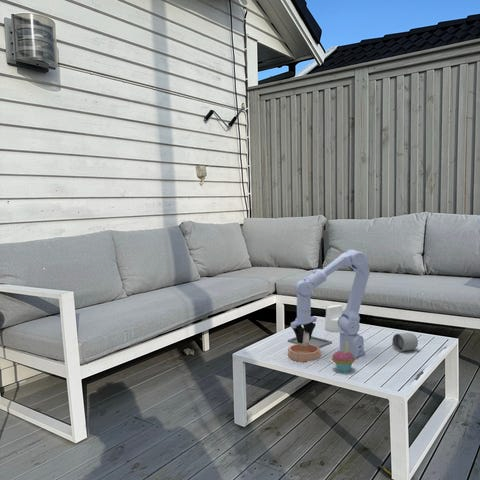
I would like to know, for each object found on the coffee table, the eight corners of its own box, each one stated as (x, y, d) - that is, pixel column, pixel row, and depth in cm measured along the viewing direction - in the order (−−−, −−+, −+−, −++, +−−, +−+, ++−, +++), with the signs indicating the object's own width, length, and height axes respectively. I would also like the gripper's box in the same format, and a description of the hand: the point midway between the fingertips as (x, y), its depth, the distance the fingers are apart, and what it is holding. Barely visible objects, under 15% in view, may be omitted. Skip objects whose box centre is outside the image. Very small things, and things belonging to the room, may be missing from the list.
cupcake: (358, 369, 173) (358, 338, 172) (348, 375, 167) (347, 344, 166) (338, 364, 179) (338, 334, 178) (327, 370, 172) (327, 339, 171)
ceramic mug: (419, 351, 191) (419, 333, 191) (404, 354, 188) (404, 336, 188) (401, 344, 201) (401, 327, 201) (387, 347, 198) (387, 330, 198)
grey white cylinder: (334, 333, 220) (334, 309, 219) (321, 329, 227) (321, 305, 226) (347, 330, 225) (347, 306, 224) (334, 326, 232) (334, 303, 231)
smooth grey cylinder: (311, 344, 187) (311, 333, 187) (304, 347, 184) (303, 335, 184) (303, 342, 191) (303, 330, 190) (295, 344, 188) (295, 332, 188)
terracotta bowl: (326, 356, 188) (326, 348, 187) (306, 364, 179) (306, 356, 179) (302, 349, 197) (302, 341, 197) (282, 356, 188) (282, 348, 188)
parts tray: (332, 344, 203) (332, 341, 203) (315, 350, 195) (315, 347, 195) (304, 337, 215) (304, 334, 215) (287, 342, 207) (287, 339, 206)
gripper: (307, 305, 194) (307, 335, 195) (284, 311, 184) (285, 343, 185) (320, 307, 189) (320, 339, 190) (298, 314, 179) (298, 347, 180)
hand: (304, 341), depth 187 cm, fingers closed on smooth grey cylinder, 5 cm apart
